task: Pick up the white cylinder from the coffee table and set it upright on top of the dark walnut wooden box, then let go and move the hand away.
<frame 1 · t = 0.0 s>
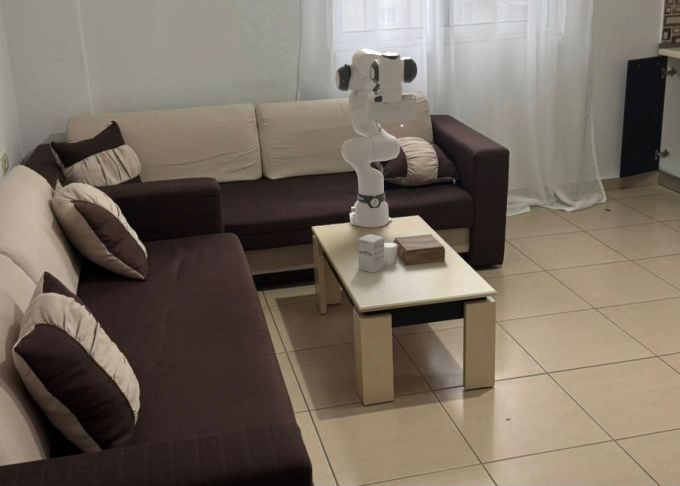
hand: (390, 130, 338), 48 cm above the table, fingers open, 8 cm apart
white cylinder: (388, 261, 338), on the table
walnut box: (418, 256, 342), on the table
supplement box: (371, 269, 331), on the table
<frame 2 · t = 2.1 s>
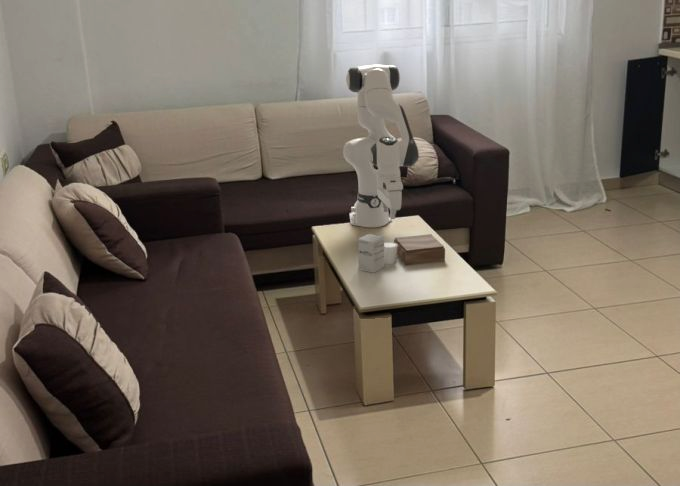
hand: (388, 215, 331), 19 cm above the table, fingers open, 8 cm apart
nothing on the table moved.
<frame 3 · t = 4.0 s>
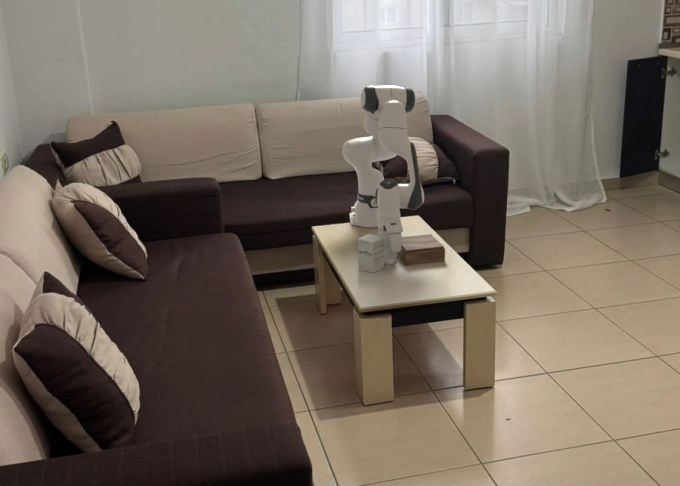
hand: (388, 255, 337), 2 cm above the table, fingers closed on white cylinder, 5 cm apart
white cylinder: (388, 261, 338), on the table, touching gripper
everything else where it was.
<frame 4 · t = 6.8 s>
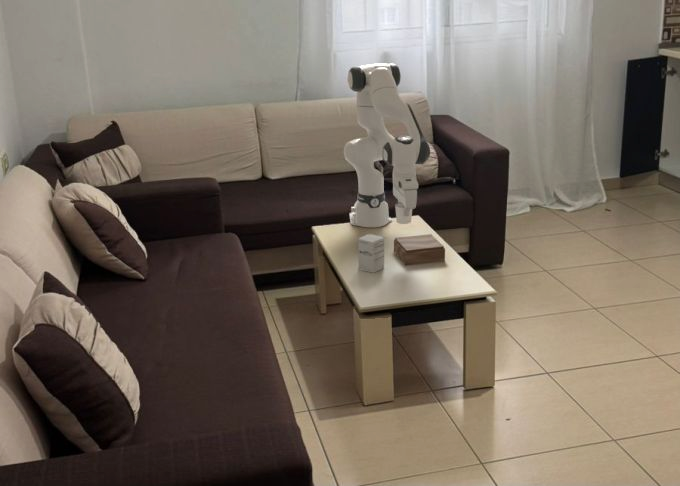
hand: (403, 213, 334), 19 cm above the table, fingers closed on white cylinder, 5 cm apart
white cylinder: (403, 222, 335), point 15 cm above the table, touching gripper
everything else where it was.
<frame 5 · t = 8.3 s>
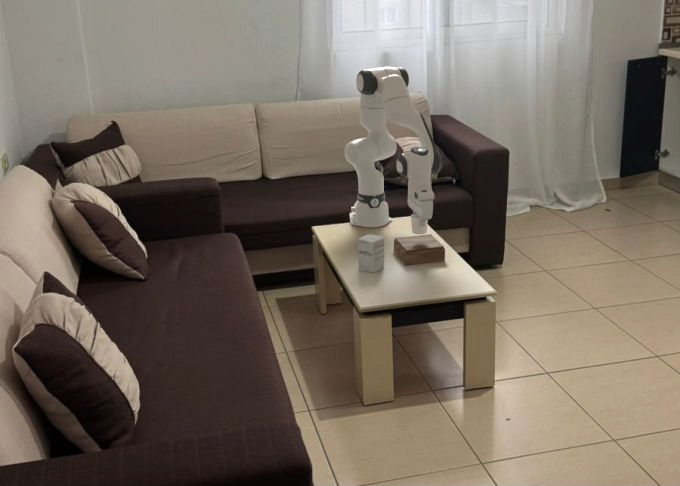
hand: (419, 223, 337), 14 cm above the table, fingers closed on white cylinder, 5 cm apart
white cylinder: (419, 232, 339), point 10 cm above the table, touching gripper
everything else where it was.
when the fingers open (10 cm above the table, at t = 9.4 s): white cylinder stays where it is, resting on walnut box.
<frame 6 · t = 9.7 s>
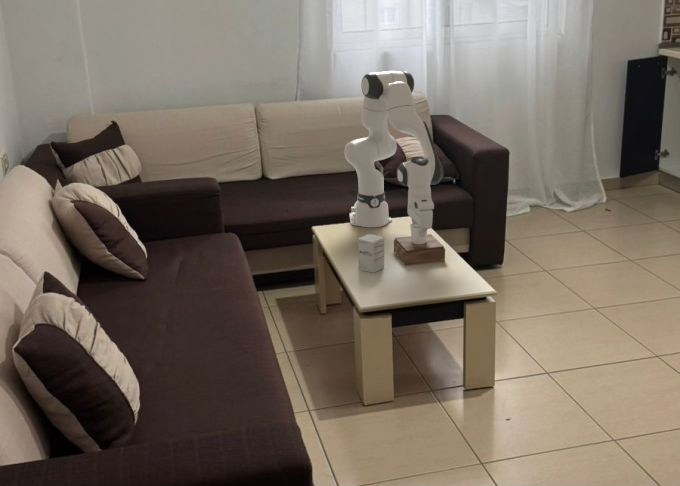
hand: (419, 232, 339), 10 cm above the table, fingers open, 8 cm apart
white cylinder: (418, 242, 340), point 6 cm above the table, touching walnut box
everything else where it was.
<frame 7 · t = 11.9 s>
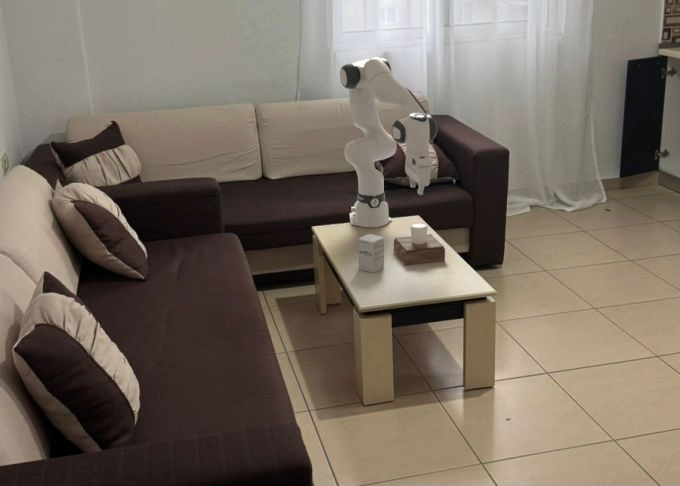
hand: (416, 190, 336), 26 cm above the table, fingers open, 8 cm apart
nothing on the table moved.
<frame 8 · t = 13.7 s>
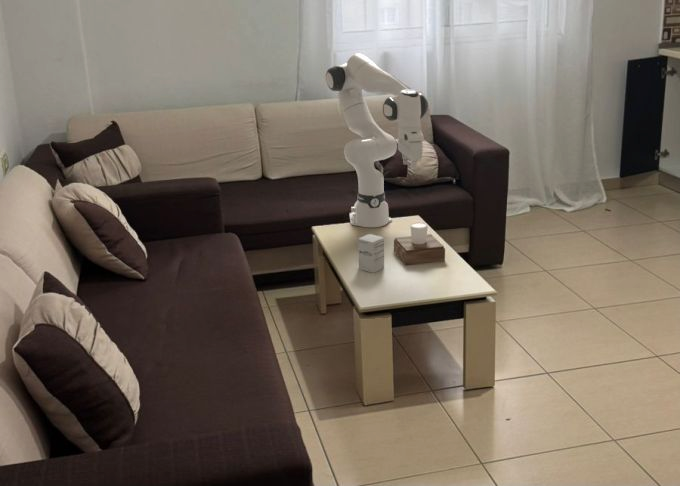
hand: (409, 167, 340), 34 cm above the table, fingers open, 8 cm apart
nothing on the table moved.
at the end: white cylinder inside the target area on the walnut box (0.2 cm from its centre), point 5.8 cm above the walnut box's base; white cylinder tilted 0°; the gripper is holding nothing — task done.
